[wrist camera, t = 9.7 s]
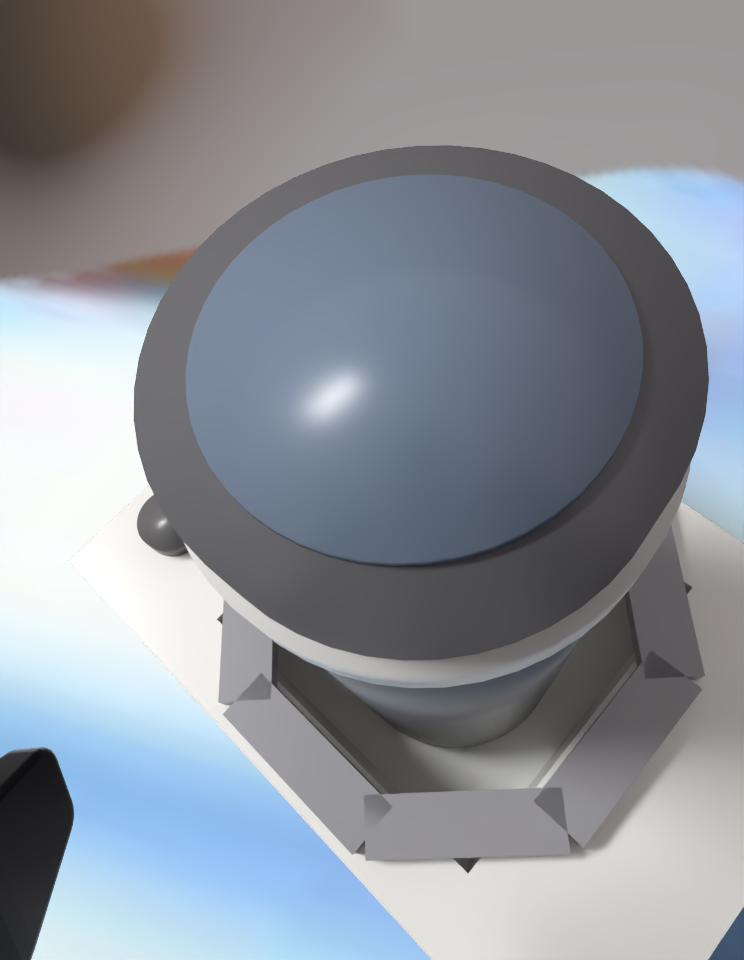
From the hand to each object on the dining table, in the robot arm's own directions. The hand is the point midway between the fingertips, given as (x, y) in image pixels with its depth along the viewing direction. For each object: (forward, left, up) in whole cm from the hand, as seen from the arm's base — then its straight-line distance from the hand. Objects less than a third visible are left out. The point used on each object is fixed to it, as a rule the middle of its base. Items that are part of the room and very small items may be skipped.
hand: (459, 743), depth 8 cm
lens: (+3, -2, -12) cm, 12 cm away
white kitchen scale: (+3, -2, -13) cm, 13 cm away
